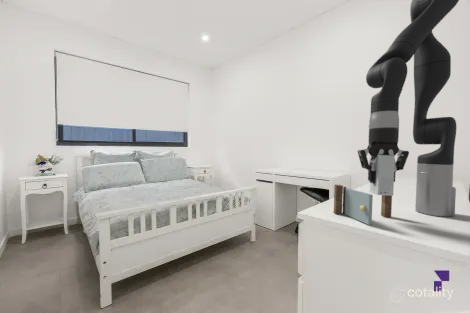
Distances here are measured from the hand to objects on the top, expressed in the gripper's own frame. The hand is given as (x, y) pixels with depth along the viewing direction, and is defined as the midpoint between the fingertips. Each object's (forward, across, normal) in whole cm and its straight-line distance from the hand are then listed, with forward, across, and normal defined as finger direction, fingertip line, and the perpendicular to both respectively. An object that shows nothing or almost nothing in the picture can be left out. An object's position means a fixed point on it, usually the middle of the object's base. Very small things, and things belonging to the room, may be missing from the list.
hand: (381, 183), depth 66 cm
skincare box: (+4, 0, 0) cm, 4 cm away
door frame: (+11, -4, +4) cm, 13 cm away
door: (+11, -8, -2) cm, 14 cm away
